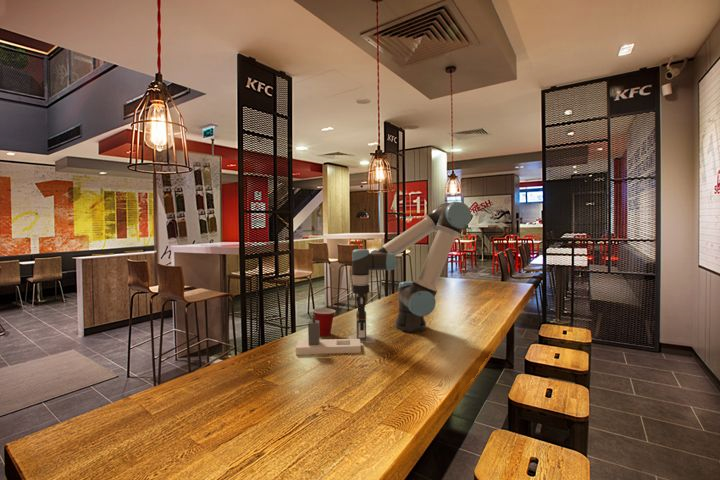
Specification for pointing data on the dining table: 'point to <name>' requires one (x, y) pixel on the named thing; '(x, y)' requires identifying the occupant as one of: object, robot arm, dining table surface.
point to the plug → (358, 326)
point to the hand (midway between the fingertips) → (361, 333)
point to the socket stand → (325, 343)
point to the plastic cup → (324, 320)
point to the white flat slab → (368, 340)
